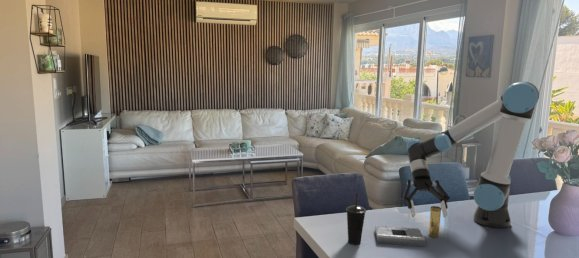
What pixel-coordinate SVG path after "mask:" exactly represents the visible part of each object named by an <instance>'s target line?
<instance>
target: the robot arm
mask: <svg viewBox="0 0 579 258" xmlns="http://www.w3.org/2000/svg"><path fill="white" fill-rule="evenodd" d="M539 99H540V91H539V89H538V87H537V86H536V85H534V84H533V83H532V82H529V81H517V82H514V83H512V84H510V85H508V86H507V88H506V89H505V90H504V92H503V93H502V94H500V96H499V97H498V99H497V100H496V101H494V102H492V103H490V104H488V105H487V106H485V107H484V108H482V109H480V110H478V111H476V112H475V113H474V114H472V115H470V116H469V117H466V118H465V119H463V120H462V121H459V122H458V123H456V124H455V125H453V126H451V127H450V128H448V129H446V130H445V131H443V132H441V133H439V134H438V135H434V137H431V138H429V139H427V140H424V141H422V140H421V139H412V140H410V141H408V142H407V144H406V153H407V157H408V161H409V166H410V171H411V176H412V180H411V179H408V180H407V181H406V188H405V190H404V192H403V195H402V198H401V200H402V201H403V202H405V203H406V205H407V208H408V210H410V213H411V218H414V217H415V216H416V210H415V204H414V201H413V197H414V196H415V195H416V193H417V192H418V191H419V192H428V193H431V194H432V195H433V196H434V197H435V198H436V199H437V200H439V201H440V208H441V212H442V213H441V214H442V217H443V218H446V217H447V216H448V212H447V211H448V207H449V206H448V202H449V201H450V200H451V197H450V196H449V194H448V193H447V192H446V191H445V189H443V187H442V185H441V184H440V182H439V180H438V179H437V180H435V181H432V178H431V174H430V171H429V166H428V160H427V159H428V158H430V157H433V156H436V155H439V154H441V153H444V152H447V151H449V150H451V149H452V147H453V146H454V145H457V144H458V143H460V142H462V141H464V140H465V139H466V138H468V137H470V136H473V135H474V134H475V133H478V132H479V131H481V130H483V129H485V128H486V127H489V126H490V125H493V124H494V123H495V122H497V121H500V124H499V126H498V130H497V133H496V136H495V140H494V143H493V147H492V150H491V153H490V156H489V160H488V162H487V166H486V170H485V171H483V172H481V173H480V176H479V180H478V182H477V185H476V187H475V188H474V191H473V200H474V202H475V203H476V204H477V208H476V209H475V212H474V214H473V221H474V222H475V223H477V224H479V225H482V226H484V227H490V228H495V229H496V228H497V229H505V228H506V229H507V228H509V227H510V226H511V221H512V220H511V217H510V211H509V209H508V208H509V199H510V191H511V190H510V188H511V183H512V180H511V179H512V178H511V175H510V172H511V169H512V167H513V163H514V159H515V156H516V154H517V150H518V147H519V144H520V140H521V137H522V134H523V131H524V128H525V125H526V123H527V122H528V121H530V120H532V118H533V114H534V111H535V109H536V106H537V103H538V101H539ZM412 185H413V187H415V188H414V189H413V190H412V192H411V193H410V195H409V196H408V194H409V191H410V188H411V187H412Z"/></svg>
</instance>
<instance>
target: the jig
mask: <svg viewBox="0 0 579 258" xmlns="http://www.w3.org/2000/svg"><path fill="white" fill-rule="evenodd" d="M374 233H375V238H376V243H377V244H385V245H386V244H388V245H397V244H398V245H399V246H411V247H426V246H425V243H426V238H425V237H424V235H423V234H422V233H423V232H421V230H420V228H418V227H417V228H414V227H402V226H401V227H400V226H387V225H375V227H374ZM398 245H397V246H398Z"/></svg>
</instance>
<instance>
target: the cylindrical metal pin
mask: <svg viewBox="0 0 579 258" xmlns="http://www.w3.org/2000/svg"><path fill="white" fill-rule="evenodd" d="M441 212H442V209H441V206H436V205H432V206H430V212H429V224H428V227H429V228H428V236H429V237H431V238H439V237H440V226H441V214H442V213H441Z"/></svg>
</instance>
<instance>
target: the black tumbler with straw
mask: <svg viewBox="0 0 579 258" xmlns="http://www.w3.org/2000/svg"><path fill="white" fill-rule="evenodd" d="M358 196H359V193H357V192H356V193H355V204H354V205H350V206H347V207H346V209H345V211H346V219H347V220H346V221H347V222H346V223H347V242H348V244H350V245H354V246H358V245H360V244H361V242H362V236H363V229H364V223H365V214H366V213H367V208H365V207H363V206H361V205H358V199H359V198H358Z"/></svg>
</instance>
